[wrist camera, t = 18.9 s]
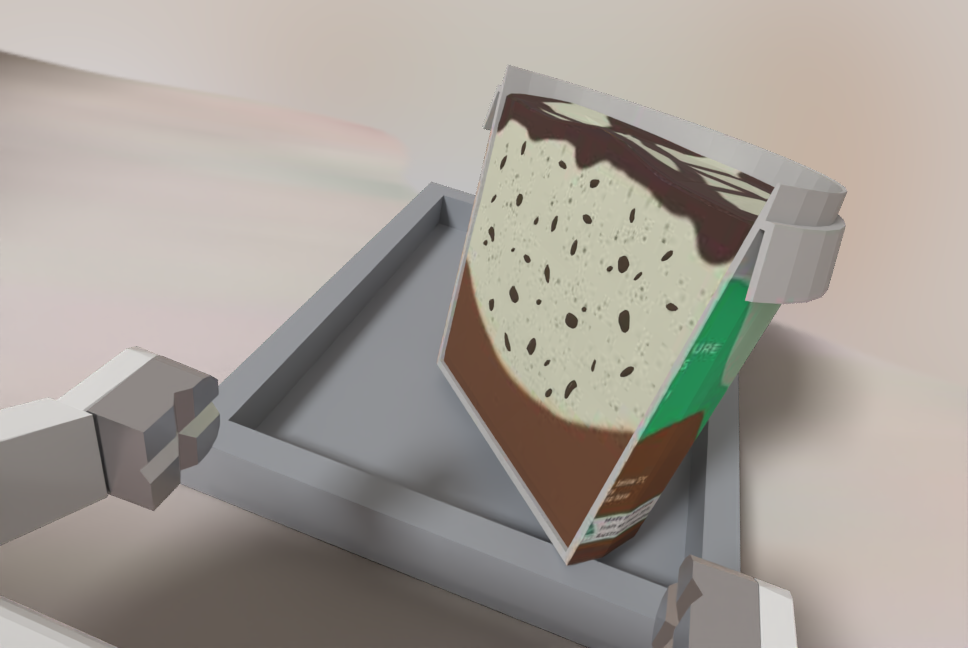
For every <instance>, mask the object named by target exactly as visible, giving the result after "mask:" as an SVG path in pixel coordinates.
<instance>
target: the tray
mask: <svg viewBox="0 0 968 648" xmlns="http://www.w3.org/2000/svg"><path fill="white" fill-rule="evenodd" d="M474 200H475V195H472V194H469V193H465V192H463V191H459V190H456V189H453V188H450V187H446V186H443V185H440V184H437V183H433V182H431V183H430V184H429V185H428V186H427V187H426V188H425V189H424V190H422V191H421V192H420V193H419V194H418V195H417V196H416V197H415V198H414V199H413V200H412V201H411V202H410V203H409V204H408V205H407V206H406V207H405V208H404V209H403V210H402V211H401V212H400V213H398V214H397V215H396V216H395V217H394V218H393V219H392V220H391V221H390V222H389V223H388V224H387V225H386V226H385V227H384V228H383V229H382V230H381V231H380V232H379V233H378V234H377V235H376V236H374V237H373V238H372V239H371V240H370V241H369V242H368V243H367V244H366V245H365V246H364V247H363V248H362V249H361V250H360V251H359V252H358V253H357V254H356V255H355V256H354V257H353V258H352V259H350V260H349V261H348V262H347V263H346V264H345V265H344V266H343V267H342V268H341V269H340V270H339V271H338V272H337V273H336V274H335V275H334V276H333V277H332V278H331V279H330V280H329V281H328V282H326V283H325V284H324V285H323V286H322V287H321V288H320V289H319V290H318V291H317V292H316V293H315V294H314V295H313V296H312V297H311V298H310V299H309V300H308V301H307V302H306V303H305V304H304V305H303V306H301V307H300V308H299V309H298V310H297V311H296V312H295V313H294V314H293V315H292V316H291V317H290V318H289V319H288V320H287V321H286V322H285V323H284V324H283V325H282V326H281V327H280V328H279V329H277V330H276V331H275V332H274V333H273V334H272V335H271V336H270V337H269V338H268V339H267V340H266V341H265V342H264V343H263V344H262V345H261V346H260V347H259V348H258V349H257V350H256V351H255V352H253V353H252V354H251V355H250V356H249V357H248V358H247V359H246V360H245V361H244V362H243V363H242V364H241V365H240V366H239V367H238V368H237V369H236V370H235V371H234V372H233V373H232V374H231V375H229V376H228V377H227V378H226V379H225V380H224V381H223V382H222V383H221V384H220V385H219V386H218V389H219V395H218V396H217V397H216V398H215V399H214V400H213V401H212V402H213V404H214V406H215V407H216V409H217V410H218V412H219V413H220V427H219V431H218V436H217V438H216V440H215V442H214V444H213V446H212V448H211V449H210V451H209V453H208V454H207V455H206V456H205V457H204V458H203V459H202V461H201V462H200V463H199V464H198V465H195V466H192V467H189V468H187V469H184V470H181V483H180V484H182V485H185V486H187V487H190V488H192V489H195V490H197V491H200V492H202V493H205V494H207V495H210V496H212V497H215V498H217V499H220V500H222V501H225V502H227V503H230V504H232V505H235V506H237V507H240V508H242V509H245V510H247V511H250V512H252V513H255V514H257V515H260V516H262V517H265V518H267V519H270V520H272V521H275V522H277V523H280V524H282V525H284V526H287V527H289V528H292V529H294V530H297V531H299V532H302V533H304V534H307V535H309V536H312V537H314V538H317V539H319V540H322V541H324V542H327V543H329V544H332V545H334V546H337V547H339V548H342V549H344V550H347V551H349V552H352V553H354V554H357V555H359V556H362V557H364V558H367V559H369V560H372V561H374V562H377V563H379V564H382V565H384V566H387V567H389V568H392V569H394V570H397V571H399V572H402V573H404V574H407V575H409V576H411V577H414V578H416V579H419V580H421V581H424V582H426V583H429V584H431V585H434V586H436V587H439V588H441V589H444V590H446V591H449V592H451V593H454V594H456V595H459V596H461V597H464V598H466V599H469V600H471V601H474V602H476V603H479V604H481V605H484V606H486V607H489V608H491V609H494V610H496V611H499V612H501V613H504V614H506V615H509V616H511V617H514V618H516V619H519V620H521V621H524V622H526V623H529V624H531V625H534V626H536V627H538V628H541V629H543V630H546V631H548V632H551V633H553V634H556V635H558V636H561V637H563V638H566V639H568V640H571V641H573V642H576V643H578V644H581V645H583V646H586V647H588V648H653V646H652V636H653V628H654V623H655V618H656V614H657V611H658V608H659V605H660V603H661V600H662V598H663V596H664V594H665V592H666V590H667V588H668V586H669V585H672V584H675V583H678V574H679V567H680V566H681V564H682V563H683V561H684V559H685V558H686V557H687V556H689V555H690V554H691V555H694V556H696V557H699V558H702V559H705V560H707V561H710V562H713V563H716V564H718V565H721V566H724V567H727V568H729V569H732V570H735V571H738V572H740V480H739V375H738V374H737V375H736V377H735V378H734V380H733V382H732V383H731V385H730V386H729V388H728V390H727V391H726V393H725V394H724V396H723V397H722V399H721V401H720V402H719V404H718V405H717V407H716V408H715V410H714V412H713V413H712V415H711V416H710V418H709V420H708V421H707V423H706V424H705V426H704V427H703V429H702V431H701V432H700V434H699V435H698V437H697V438H696V440H695V442H694V443H693V445H692V446H691V448H690V450H689V451H688V453H687V454H686V456H685V457H684V459H683V461H682V462H681V464H680V465H679V467H678V468H677V470H676V472H675V473H674V475H673V476H672V478H671V480H670V481H669V483H668V484H667V486H666V487H665V489H664V491H663V492H662V494H661V495H660V497H659V498H658V500H657V502H656V503H655V505H654V506H653V508H652V510H651V511H650V513H649V514H648V516H647V517H646V519H645V521H644V522H643V524H642V525H641V527H640V528H639V530H638V532H637V533H636V535H635V536H634V537H633V538H632V539H630V540H629V541H627V542H626V543H624V544H623V545H621V546H619V547H618V548H616V549H615V550H613V551H612V552H610V553H609V554H607V555H606V556H604V557H603V558H599V559H595V560H590V561H586V562H581V563H577V564H573V565H568V566H567V565H566V564H565V562H564V561H563V559H562V557H561V556H560V554H559V553H558V551H557V550H556V548H555V547H554V545H553V543H552V542H551V540H550V539H549V537H548V536H547V534H546V533H545V531H544V530H543V528H542V526H541V525H540V523H539V522H538V520H537V519H536V517H535V516H534V514H533V512H532V511H531V509H530V508H529V506H528V505H527V503H526V502H525V500H524V498H523V497H522V495H521V494H520V492H519V491H518V489H517V488H516V486H515V484H514V483H513V481H512V480H511V478H510V477H509V475H508V474H507V472H506V471H505V469H504V467H503V466H502V464H501V463H500V461H499V460H498V458H497V457H496V455H495V453H494V452H493V450H492V449H491V447H490V446H489V444H488V443H487V441H486V439H485V438H484V436H483V435H482V433H481V432H480V430H479V429H478V427H477V425H476V424H475V422H474V421H473V419H472V418H471V416H470V415H469V413H468V412H467V410H466V408H465V407H464V405H463V404H462V402H461V401H460V399H459V398H458V396H457V394H456V393H455V391H454V390H453V388H452V387H451V385H450V384H449V382H448V380H447V379H446V377H445V376H444V374H443V373H442V371H441V370H440V368H439V366H438V365H437V363H436V362H437V358H438V354H439V350H440V345H441V341H442V337H443V333H444V328H445V324H446V320H447V315H448V311H449V307H450V303H451V298H452V294H453V290H454V286H455V281H456V277H457V273H458V268H459V264H460V260H461V256H462V251H463V247H464V243H465V239H466V234H467V230H468V226H469V221H470V217H471V213H472V209H473V204H474Z"/></svg>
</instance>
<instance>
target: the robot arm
mask: <svg viewBox="0 0 968 648" xmlns="http://www.w3.org/2000/svg"><path fill="white" fill-rule="evenodd" d="M218 395H219V389H218V379H216V378H214V377H212V376H211V375H208V374H206V373H203V372H201V371H198V370H196V369H193V368H191V367H188V366H186V365H183V364H181V363H179V362H176V361H174V360H171V359H169V358H166V357H164V356H160V355H158V354H155V353H153V352H150V351H148V350H145V349H143V348H140V347H138V346H135V347H131V348H127V349H125V350H124V351H122V352H121V353H120V354H118V355H117V356H116V357H114V358H113V359H112V360H110V361H109V362H108V363H106V364H105V365H103V366H102V367H101V368H99V369H98V370H97V371H95V372H94V373H93V374H91V375H90V376H89V377H87V378H86V379H85V380H83V381H82V382H80V383H79V384H78V385H76V386H75V387H74V388H72V389H71V390H70V391H68V392H67V393H66V394H64V395H63V396H62V397H60V398H59V399H58V400H55V399H52V398H50V397H48V398H44V399H40V400H36V401H32V402H28V403H24V404H20V405H16V406H13V407H9V408H5V409H1V410H0V546H1V545H3V544H5V543H8V542H10V541H12V540H14V539H16V538H19V537H21V536H23V535H25V534H27V533H30V532H32V531H34V530H36V529H38V528H41V527H43V526H45V525H47V524H49V523H52V522H54V521H56V520H58V519H60V518H63V517H65V516H67V515H69V514H71V513H74V512H76V511H78V510H80V509H82V508H85V507H87V506H89V505H91V504H93V503H95V502H98V501H100V500H102V499H104V498H106V497H108V494H110V495H112V496H115V497H118V498H120V499H123V500H126V501H128V502H131V503H134V504H136V505H139V506H141V507H144V508H147V509H149V510H152V511H155V509H156V508H157V507H158V506H159V505H160V504H161V503H162V502H163V501H164V500H165V499H166V498H167V497H168V496H169V495H170V494H171V493H172V492H173V491H174V489H175V488H176V487H177V486H178V485H179V484H180V483H181V470H184V469H187V468H189V467H192V466H195V465H198V464H199V463H200V462H201V461H202V459H203V458H204V457H205V456H206V455H207V454H208V453H209V451H210V449H211V448H212V446H213V444H214V442H215V440H216V438H217V436H218V431H219V427H220V413H219V412H218V410H217V409H216V407H215V406H214V404H213V402H212V401H213V400H214V399H215V398H216V397H217V396H218ZM652 646H653V648H798V646H797V636H796V625H795V615H794V604H793V597H792V595H791V593H790V591H789V590H786V589H783V588H781V587H778V586H775V585H772V584H770V583H767V582H764V581H762V580H759V579H756V578H755V579H754V578H753V577H752V576H749V575H746V574H743V573H740V572H738V571H735V570H732V569H729V568H727V567H724V566H721V565H718V564H716V563H713V562H710V561H707V560H705V559H702V558H699V557H696V556H694V555H691V554H690V555H689V556H687V557H686V558H685V559H684V561H683V563H682V564H681V566H680V567H679V574H678V583H675V584H672V585H669V586H668V588H667V590H666V592H665V594H664V596H663V598H662V600H661V603H660V605H659V608H658V611H657V614H656V618H655V623H654V628H653V636H652ZM0 648H118V647H116V646H114V645H111V644H109V643H107V642H105V641H102V640H100V639H98V638H96V637H93V636H91V635H89V634H87V633H84V632H82V631H80V630H78V629H75V628H73V627H71V626H69V625H67V624H64V623H62V622H60V621H58V620H55V619H53V618H51V617H49V616H46V615H44V614H42V613H40V612H37V611H35V610H33V609H31V608H28V607H26V606H24V605H22V604H19V603H17V602H15V601H13V600H11V599H8V598H6V597H4V596H2V595H0Z"/></svg>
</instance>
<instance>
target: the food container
mask: <svg viewBox="0 0 968 648" xmlns="http://www.w3.org/2000/svg"><path fill="white" fill-rule="evenodd" d="M482 127H483V129H486V130H490V131H491V132H490V136H489V140H488V145H487V149H486V153H485V157H484V162H483V166H482V170H481V174H480V179H479V183H478V187H477V192H476V196H475V200H474V204H473V209H472V213H471V217H470V221H469V226H468V230H467V234H466V239H465V243H464V247H463V251H462V256H461V260H460V264H459V268H458V273H457V277H456V281H455V286H454V290H453V294H452V298H451V303H450V307H449V311H448V315H447V320H446V324H445V328H444V333H443V337H442V341H441V345H440V350H439V354H438V358H437V362H436V363H437V365H438V366H439V368H440V370H441V371H442V373H443V374H444V376H445V377H446V379H447V380H448V382H449V384H450V385H451V387H452V388H453V390H454V391H455V393H456V394H457V396H458V398H459V399H460V401H461V402H462V404H463V405H464V407H465V408H466V410H467V412H468V413H469V415H470V416H471V418H472V419H473V421H474V422H475V424H476V425H477V427H478V429H479V430H480V432H481V433H482V435H483V436H484V438H485V439H486V441H487V443H488V444H489V446H490V447H491V449H492V450H493V452H494V453H495V455H496V457H497V458H498V460H499V461H500V463H501V464H502V466H503V467H504V469H505V471H506V472H507V474H508V475H509V477H510V478H511V480H512V481H513V483H514V484H515V486H516V488H517V489H518V491H519V492H520V494H521V495H522V497H523V498H524V500H525V502H526V503H527V505H528V506H529V508H530V509H531V511H532V512H533V514H534V516H535V517H536V519H537V520H538V522H539V523H540V525H541V526H542V528H543V530H544V531H545V533H546V534H547V536H548V537H549V539H550V540H551V542H552V543H553V545H554V547H555V548H556V550H557V551H558V553H559V554H560V556H561V557H562V559H563V561H564V562H565V564H566V565H567V566H568V565H573V564H577V563H581V562H586V561H590V560H595V559H599V558H603V557H604V556H606V555H607V554H609V553H610V552H612V551H613V550H615V549H616V548H618V547H619V546H621V545H623V544H624V543H626V542H627V541H629V540H630V539H632V538H633V537H634V536H635V535H636V533H637V532H638V530H639V528H640V527H641V525H642V524H643V522H644V521H645V519H646V517H647V516H648V514H649V513H650V511H651V510H652V508H653V506H654V505H655V503H656V502H657V500H658V498H659V497H660V495H661V494H662V492H663V491H664V489H665V487H666V486H667V484H668V483H669V481H670V480H671V478H672V476H673V475H674V473H675V472H676V470H677V468H678V467H679V465H680V464H681V462H682V461H683V459H684V457H685V456H686V454H687V453H688V451H689V450H690V448H691V446H692V445H693V443H694V442H695V440H696V438H697V437H698V435H699V434H700V432H701V431H702V429H703V427H704V426H705V424H706V423H707V421H708V420H709V418H710V416H711V415H712V413H713V412H714V410H715V408H716V407H717V405H718V404H719V402H720V401H721V399H722V397H723V396H724V394H725V393H726V391H727V390H728V388H729V386H730V385H731V383H732V382H733V380H734V378H735V377H736V375H737V374H738V372H739V371H740V369H741V367H742V366H743V364H744V363H745V361H746V360H747V358H748V356H749V355H750V353H751V352H752V350H753V348H754V347H755V345H756V344H757V342H758V341H759V339H760V337H761V336H762V334H763V333H764V331H765V330H766V328H767V326H768V325H769V323H770V322H771V320H772V318H773V317H774V315H775V314H776V312H777V310H778V309H779V307H780V306H781V304H790V303H803V302H809V301H812V300H815V299H818V298H820V297H822V296H823V295H824V294H825V292H826V291H827V290H828V287H829V284H830V280H831V276H832V273H833V269H834V266H835V262H836V259H837V255H838V251H839V248H840V244H841V241H842V237H843V233H844V230H845V226H846V225H845V222H844V220H843V219H842V218H841V217H840V216H839V215H838V212H839V210H840V208H841V206H842V203H843V201H844V198H845V196H846V193H847V190H846V188H845V187H844V186H843V185H841V184H840V183H838V182H837V181H835V180H833V179H831V178H829V177H828V176H826V175H824V174H822V173H819V172H817V171H815V170H813V169H811V168H809V167H806V166H804V165H802V164H800V163H797V162H795V161H792V160H790V159H788V158H785V157H783V156H780V155H778V154H775V153H773V152H771V151H768V150H765V149H763V148H760V147H757V146H755V145H752V144H750V143H747V142H745V141H742V140H739V139H737V138H734V137H731V136H728V135H726V134H723V133H720V132H718V131H714V130H712V129H709V128H706V127H704V126H701V125H698V124H695V123H692V122H689V121H686V120H684V119H681V118H678V117H675V116H672V115H669V114H666V113H663V112H660V111H657V110H654V109H651V108H648V107H645V106H642V105H639V104H636V103H633V102H630V101H627V100H624V99H621V98H618V97H614V96H612V95H609V94H605V93H602V92H599V91H596V90H593V89H589V88H586V87H583V86H580V85H577V84H573V83H570V82H567V81H563V80H560V79H557V78H553V77H549V76H546V75H542V74H539V73H535V72H532V71H528V70H525V69H521V68H518V67H514V66H511V65H507V68H506V71H505V74H504V78H503V81H502V85H498V86H497V88H496V91H495V94H494V96H493V99H492V102H491V104H490V107H489V110H488V113H487V115H486V118H485V120H484V123H483V126H482Z"/></svg>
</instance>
